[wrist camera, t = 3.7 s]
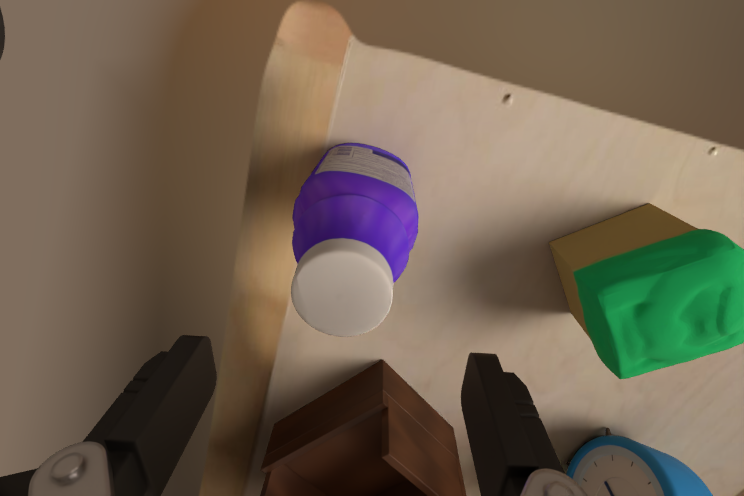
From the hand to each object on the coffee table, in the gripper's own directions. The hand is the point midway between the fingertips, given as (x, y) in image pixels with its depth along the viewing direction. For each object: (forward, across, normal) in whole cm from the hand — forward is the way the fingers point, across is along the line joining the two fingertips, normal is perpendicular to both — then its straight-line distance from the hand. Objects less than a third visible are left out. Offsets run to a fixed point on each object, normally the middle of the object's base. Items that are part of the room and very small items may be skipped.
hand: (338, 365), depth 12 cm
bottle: (+21, 0, 0) cm, 21 cm away
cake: (+21, -22, +6) cm, 31 cm away
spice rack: (+21, -1, +29) cm, 36 cm away
